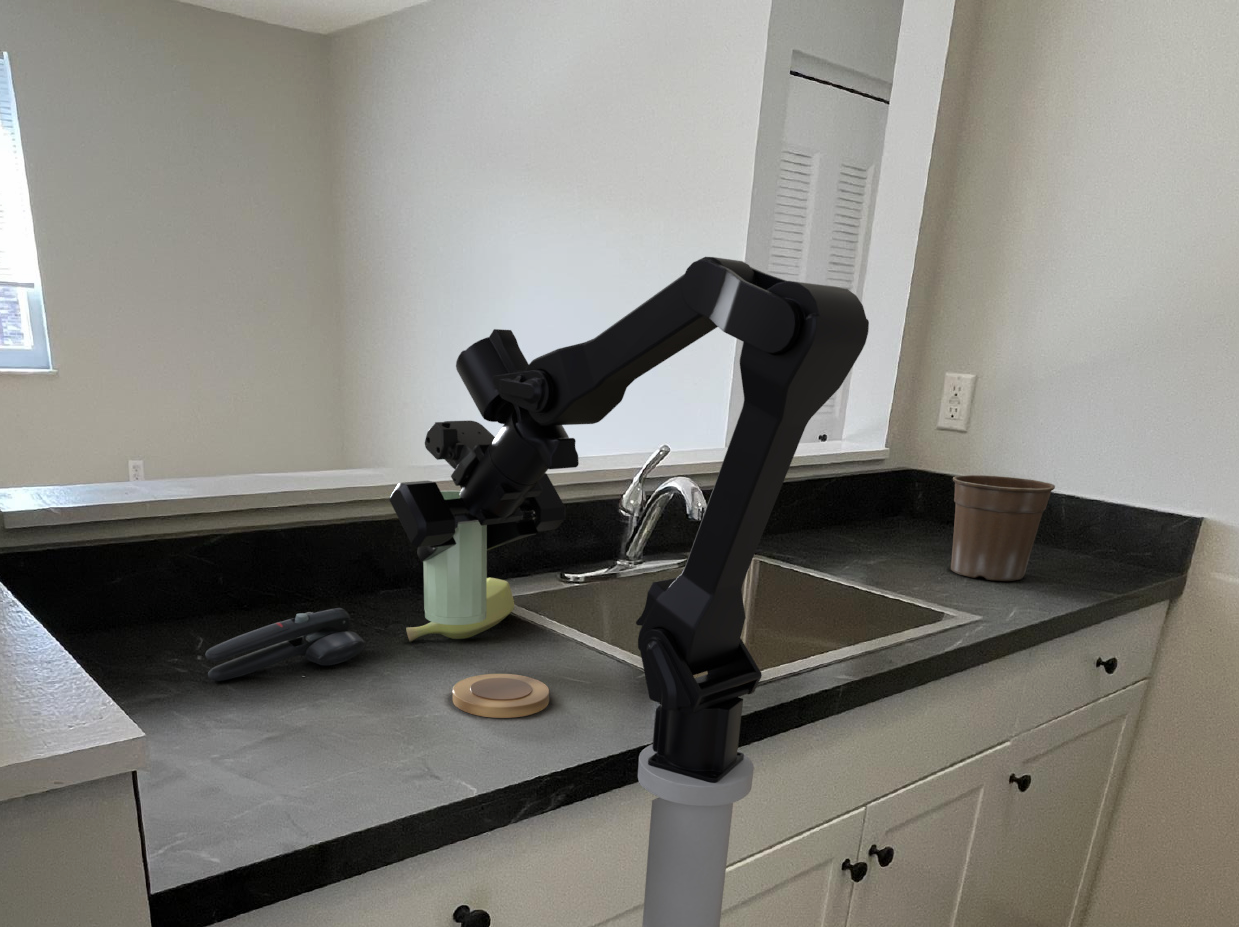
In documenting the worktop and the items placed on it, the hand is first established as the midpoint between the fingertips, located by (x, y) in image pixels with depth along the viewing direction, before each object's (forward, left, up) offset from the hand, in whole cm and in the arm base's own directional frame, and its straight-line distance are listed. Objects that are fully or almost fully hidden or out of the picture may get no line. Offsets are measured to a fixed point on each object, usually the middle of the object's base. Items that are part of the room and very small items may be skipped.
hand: (448, 554), depth 104 cm
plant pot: (-41, -99, -14) cm, 107 cm away
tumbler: (-1, 0, -7) cm, 7 cm away
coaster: (-10, +4, -13) cm, 17 cm away
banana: (+10, -15, -14) cm, 23 cm away
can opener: (+15, +10, -14) cm, 23 cm away
